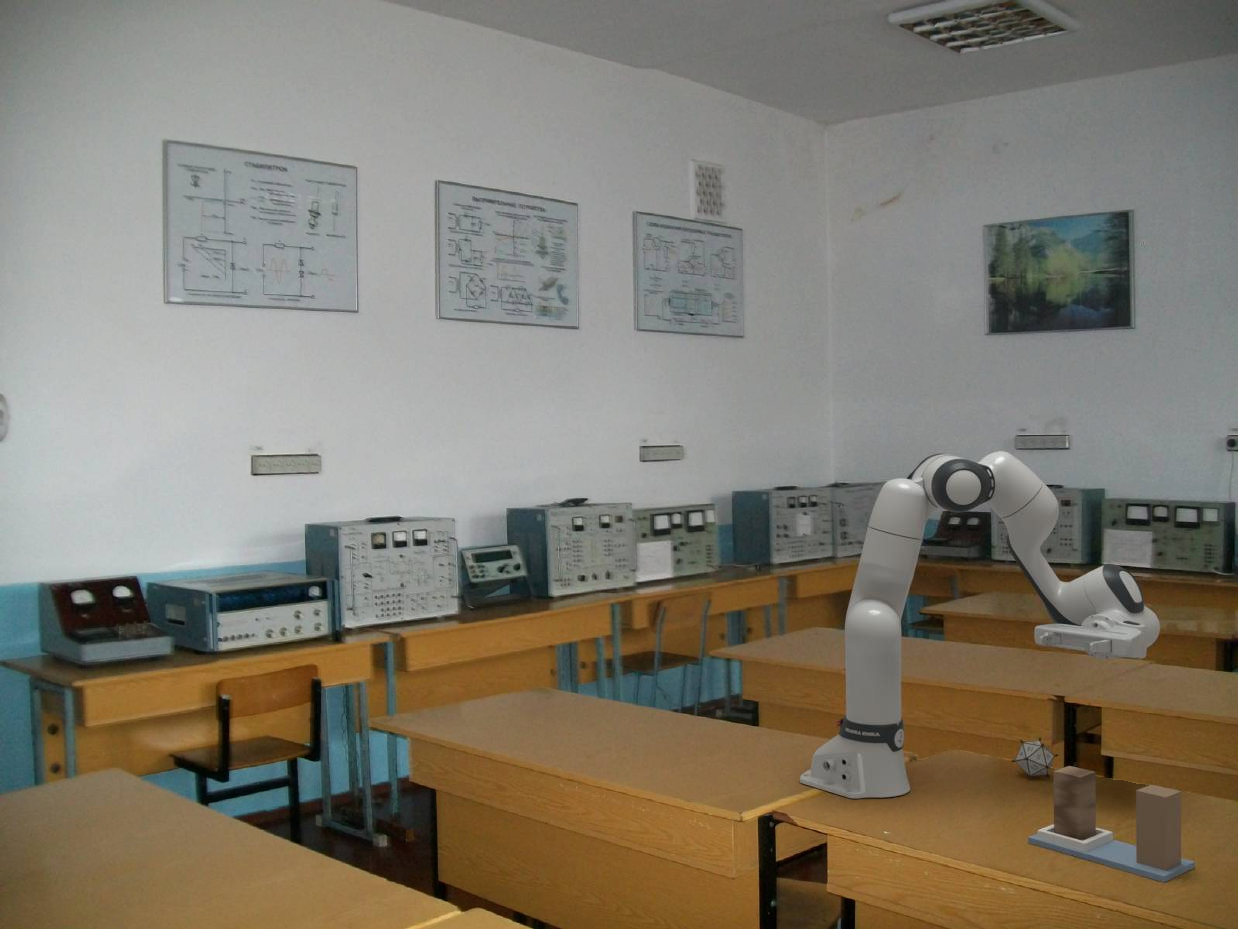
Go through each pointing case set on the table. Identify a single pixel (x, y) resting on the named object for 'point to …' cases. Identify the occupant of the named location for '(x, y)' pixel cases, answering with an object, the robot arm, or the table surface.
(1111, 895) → the table surface
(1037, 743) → the game die
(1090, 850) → the baseplate
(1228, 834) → the table surface
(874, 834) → the table surface
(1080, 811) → the pillar
